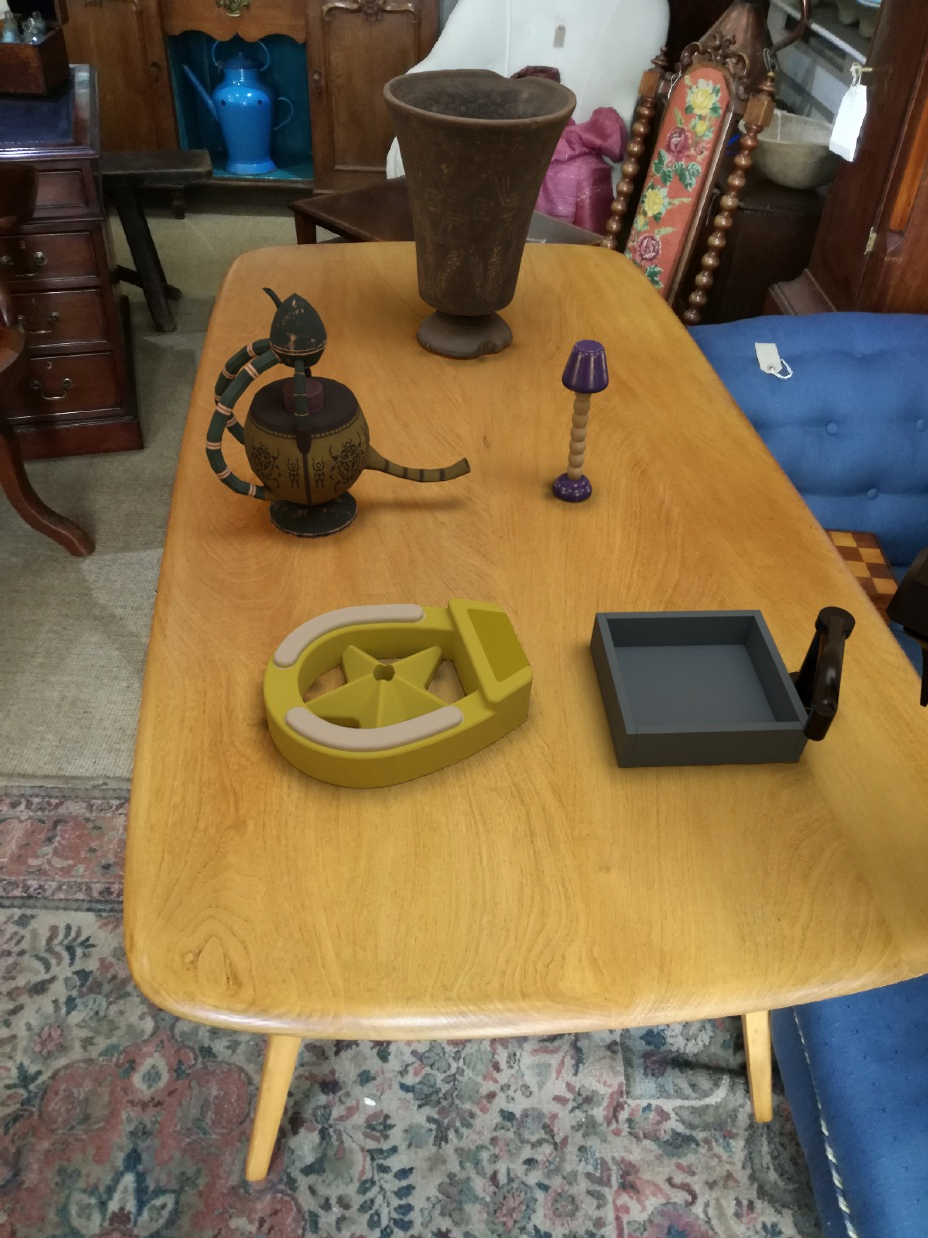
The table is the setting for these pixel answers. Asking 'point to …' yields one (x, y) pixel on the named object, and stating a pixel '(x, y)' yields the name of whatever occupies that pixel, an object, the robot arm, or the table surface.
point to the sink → (696, 689)
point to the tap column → (807, 674)
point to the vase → (473, 191)
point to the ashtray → (395, 690)
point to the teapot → (300, 430)
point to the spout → (828, 669)
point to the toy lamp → (581, 413)
